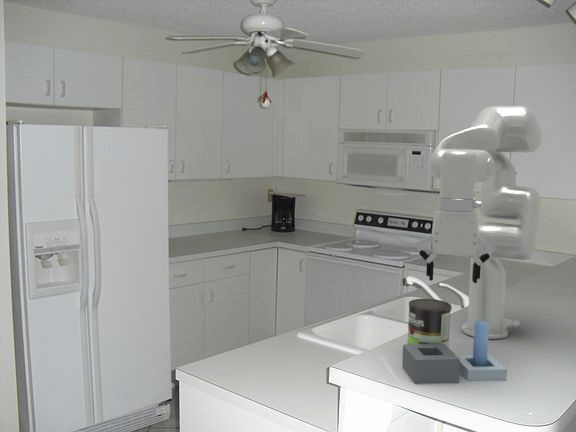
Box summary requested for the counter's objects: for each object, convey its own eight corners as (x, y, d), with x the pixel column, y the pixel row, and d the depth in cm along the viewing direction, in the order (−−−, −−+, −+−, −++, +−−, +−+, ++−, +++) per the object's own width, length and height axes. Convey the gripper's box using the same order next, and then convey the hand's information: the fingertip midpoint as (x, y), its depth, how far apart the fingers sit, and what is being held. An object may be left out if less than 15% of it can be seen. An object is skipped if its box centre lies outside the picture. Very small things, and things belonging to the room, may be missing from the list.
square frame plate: (489, 367, 145) (490, 355, 145) (506, 382, 136) (506, 369, 136) (453, 367, 144) (453, 355, 144) (467, 382, 135) (468, 370, 135)
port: (443, 367, 144) (444, 343, 143) (458, 384, 134) (459, 359, 134) (402, 368, 143) (403, 344, 142) (414, 385, 133) (415, 359, 133)
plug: (482, 369, 142) (485, 320, 140) (488, 375, 139) (491, 324, 137) (469, 370, 142) (472, 320, 140) (475, 375, 139) (478, 325, 137)
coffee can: (421, 368, 144) (423, 311, 142) (398, 354, 153) (400, 300, 151) (457, 363, 147) (460, 307, 145) (433, 349, 157) (435, 297, 155)
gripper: (494, 205, 137) (489, 279, 139) (416, 202, 140) (413, 274, 142) (499, 209, 130) (494, 286, 132) (417, 206, 133) (414, 282, 135)
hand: (452, 280), depth 137 cm, fingers open, 9 cm apart
